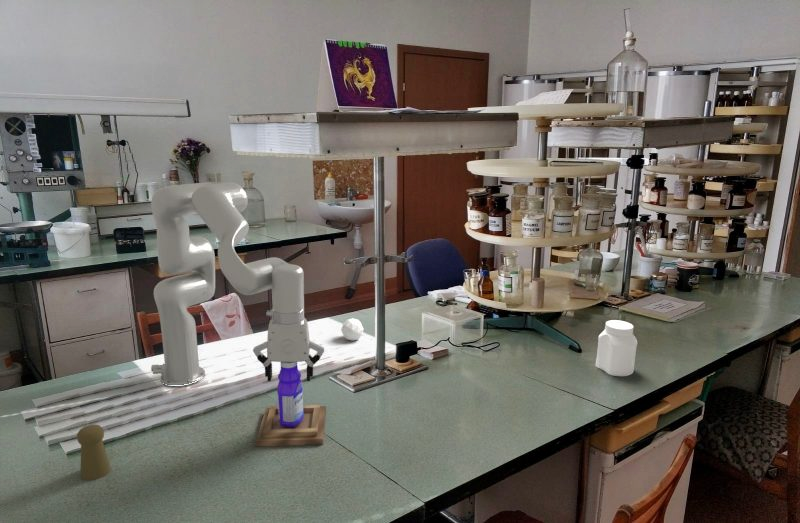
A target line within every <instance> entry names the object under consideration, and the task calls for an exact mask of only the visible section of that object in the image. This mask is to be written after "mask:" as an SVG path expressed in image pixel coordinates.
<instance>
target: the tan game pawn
mask: <svg viewBox="0 0 800 523" xmlns="http://www.w3.org/2000/svg"><path fill="white" fill-rule="evenodd" d="M104 436H105V431H104V429H103V427H102V426H101V425H100V424H88V425H86V426H84V427H82V428H80V429H79V430H78V431H77V434H76V438H77V442H78V444H79V445H80V478H81V479H82V480H84V481H96V480H99V479H101V478H103V477H105V476H106V475H108V474H109V473H110V471H111V469H112V467H111V465H110V461H109V458H108V455H107V452H106V448H105V445H104V442H103V439H104Z"/></svg>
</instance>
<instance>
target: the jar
mask: <svg viewBox="0 0 800 523" xmlns="http://www.w3.org/2000/svg"><path fill="white" fill-rule="evenodd" d="M597 340H598V341H597V342H598V343H597V352H596V359H595V367H596V368H598V369H599V370H602V371H604V372H605V373H606V374H608V375H609V376H615V377H628V376H630V375H633V374H634V370H635V363H636V362H635V361H636V353H637V346H638V340H637V337H636V336H635V334H634V325H633V324H632V323H630V322H627V321H624V320H617V319H611V320H608V321H607V320H606V321H605V326H604V330H603V331H602V332H600V334H599V335H598V338H597Z"/></svg>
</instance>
